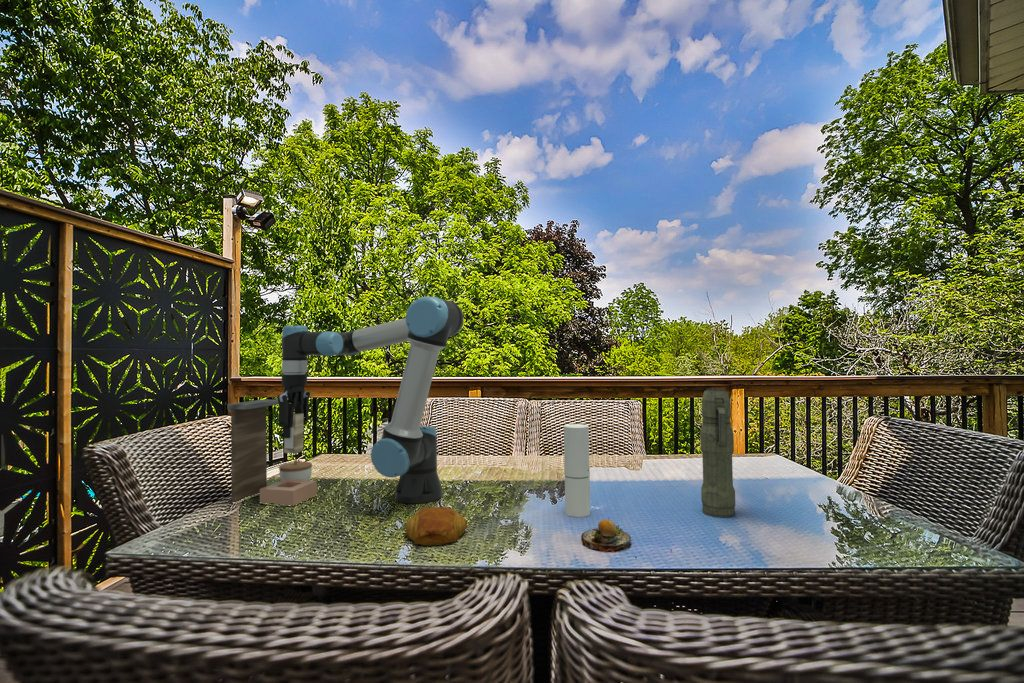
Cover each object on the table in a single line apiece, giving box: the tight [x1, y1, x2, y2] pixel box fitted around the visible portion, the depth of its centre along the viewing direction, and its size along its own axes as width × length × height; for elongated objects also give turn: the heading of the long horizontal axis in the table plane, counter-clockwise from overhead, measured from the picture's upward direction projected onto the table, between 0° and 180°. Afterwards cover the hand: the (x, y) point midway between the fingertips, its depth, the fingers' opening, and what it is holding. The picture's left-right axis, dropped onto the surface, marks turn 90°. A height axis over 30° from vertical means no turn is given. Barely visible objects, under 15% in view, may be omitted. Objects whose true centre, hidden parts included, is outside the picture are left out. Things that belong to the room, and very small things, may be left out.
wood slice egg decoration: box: [580, 518, 632, 553], centre depth 123 cm, size 12×12×8 cm
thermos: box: [699, 388, 736, 518], centre depth 145 cm, size 9×12×35 cm
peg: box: [283, 412, 304, 454], centre depth 162 cm, size 4×4×12 cm
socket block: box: [259, 479, 318, 506], centre depth 163 cm, size 12×12×5 cm
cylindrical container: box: [563, 423, 591, 518], centre depth 146 cm, size 7×7×25 cm
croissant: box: [405, 506, 468, 546], centre depth 129 cm, size 14×16×8 cm
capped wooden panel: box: [226, 399, 279, 503], centre depth 166 cm, size 7×16×32 cm, turn 167°
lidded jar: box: [278, 459, 313, 481], centre depth 180 cm, size 11×11×9 cm
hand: (293, 446), depth 162 cm, fingers closed on peg, 4 cm apart
